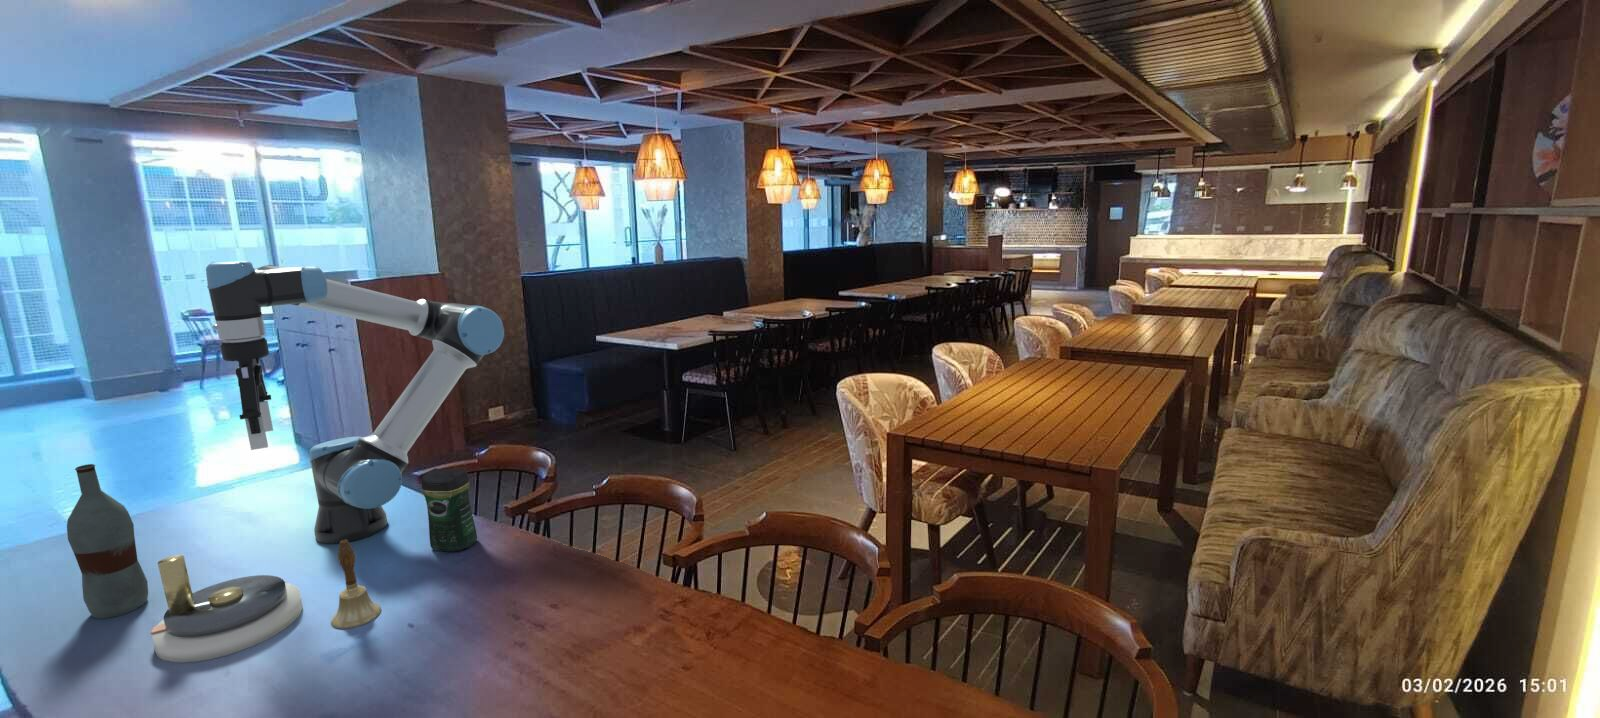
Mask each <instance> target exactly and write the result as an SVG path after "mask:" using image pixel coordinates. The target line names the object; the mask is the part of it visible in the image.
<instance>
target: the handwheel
mask: <svg viewBox="0 0 1600 718" xmlns="http://www.w3.org/2000/svg"><path fill="white" fill-rule="evenodd" d="M157 566H158V571H159V575H160V578H161V583H162V584H161V585H162V587H163V590H164V595H165V599H166V605H167V608H168V609H167V610H166V612H165V613H164V615H163V619H164V623H165V627H166V631H167V632H168V633H169V634H171V635H173V636H176V637H200V636H206V635H212V634H216V633H220V632H224V631H228V630H231V629H234V628H237V627H240V626H243V625H245V624H248V623H250V622H252V621H255V620H257V619H259V618H261V617H263V616H265V615H266V614H268V613H270V612H271V611H273V610H274V609H275V608H277V607H278V606H279V605H280V604H281V603H282V602H283V601H284V600H285V598H286V596H287V591H286V586H285V583H286V581H284V579H283V578H281V577H279V576H276V575H268V574H262V575H261V574H257V575H249V576H242V577H238V578H232V579H228V580H225V581H222V582H219V583H216V584H212V585H210V586H209V585H208V586H207V587H204V588H202V589H200V590H197V591H195V592H193V590H192V585H191V582H190V577H189V574H188V568H187V565H186V560H185V556H184V555H182V554H176V555H171V556H168V557H167V556H166V557H164V558H162V559H160V560H159V561H158V562H157Z"/></svg>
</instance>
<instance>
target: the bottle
mask: <svg viewBox="0 0 1600 718" xmlns="http://www.w3.org/2000/svg"><path fill="white" fill-rule="evenodd" d="M74 470H75V471H76V476H77V480H78V484H79V488H80V493H81V495H80V497H79V498H78V500H77V502H76V504H75V506H74V507H73V509H72V511H71V513H70V514H69V516H68V518H67V522H66V533H67V541H68V543H69V545H70V547H71V550H72V552H73V555H74V557H75V561H76V562H77V566H78V567H79V570H80V573H81V586H82V587H81V588H82V597H83V602H84V604H85V606H86V608H87V610H88V612H89V613H90V615H91V616H92V617H93V618H95V619H99V620H100V619H101V618H102V619H110V617H111V618H114V617H113V616H115V617H118V615H119V616H122V615H124V614H128V613H130V612H129V611H131V612H133V611H135V610H137V609H139V608H141V607H143V605H145V604H146V603H147V601H148V599H149V598H148V596H149V587H148V586H149V584H148V579H147V577H146V575H145V573H144V570H143V568H142V566H141V564H140V562H139V559H138V553H137V545H136V538H135V527H134V522H133V519H132V518H131V516H130V513H129V511H128V510H127V508H126V507H125V505H124V504H122V503H121V502H119V501H118V500H116V499H115V498H113V497H112V496H110V494H107V492H104V490H102V489H101V485H100V482H99V478H98V475H97V471H96V464H94V463H90V464H89V463H88V464H83V465H80V466H77V467H75V468H74ZM145 602H146V603H145ZM144 603H145V604H144ZM140 606H141V607H140ZM138 607H139V608H138ZM132 610H133V611H132ZM127 612H128V613H127ZM121 614H122V615H121Z"/></svg>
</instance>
